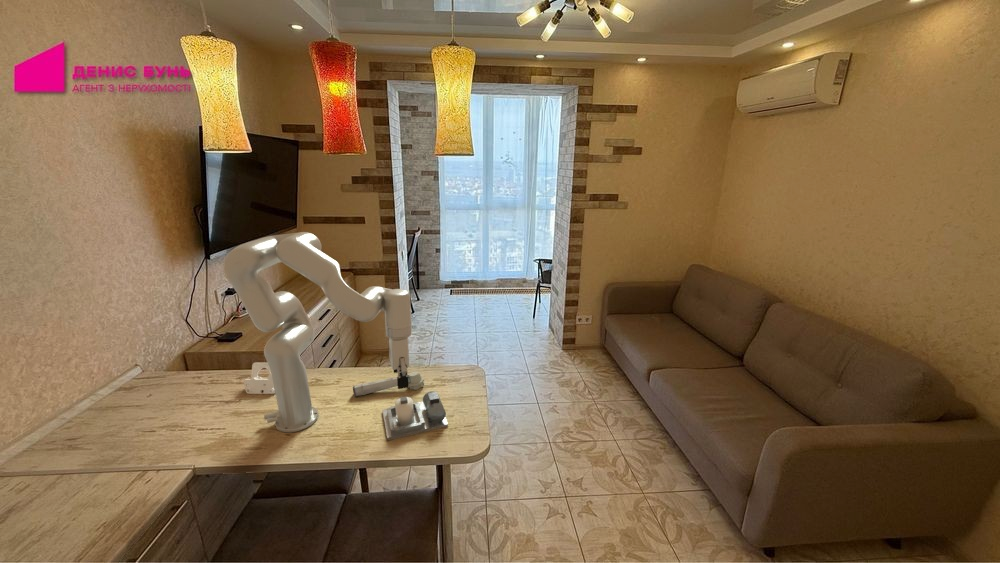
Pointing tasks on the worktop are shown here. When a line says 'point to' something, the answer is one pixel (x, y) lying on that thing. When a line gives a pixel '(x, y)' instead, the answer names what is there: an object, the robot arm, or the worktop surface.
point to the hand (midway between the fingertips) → (400, 379)
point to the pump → (404, 411)
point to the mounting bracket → (259, 381)
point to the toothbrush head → (388, 384)
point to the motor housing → (417, 417)
